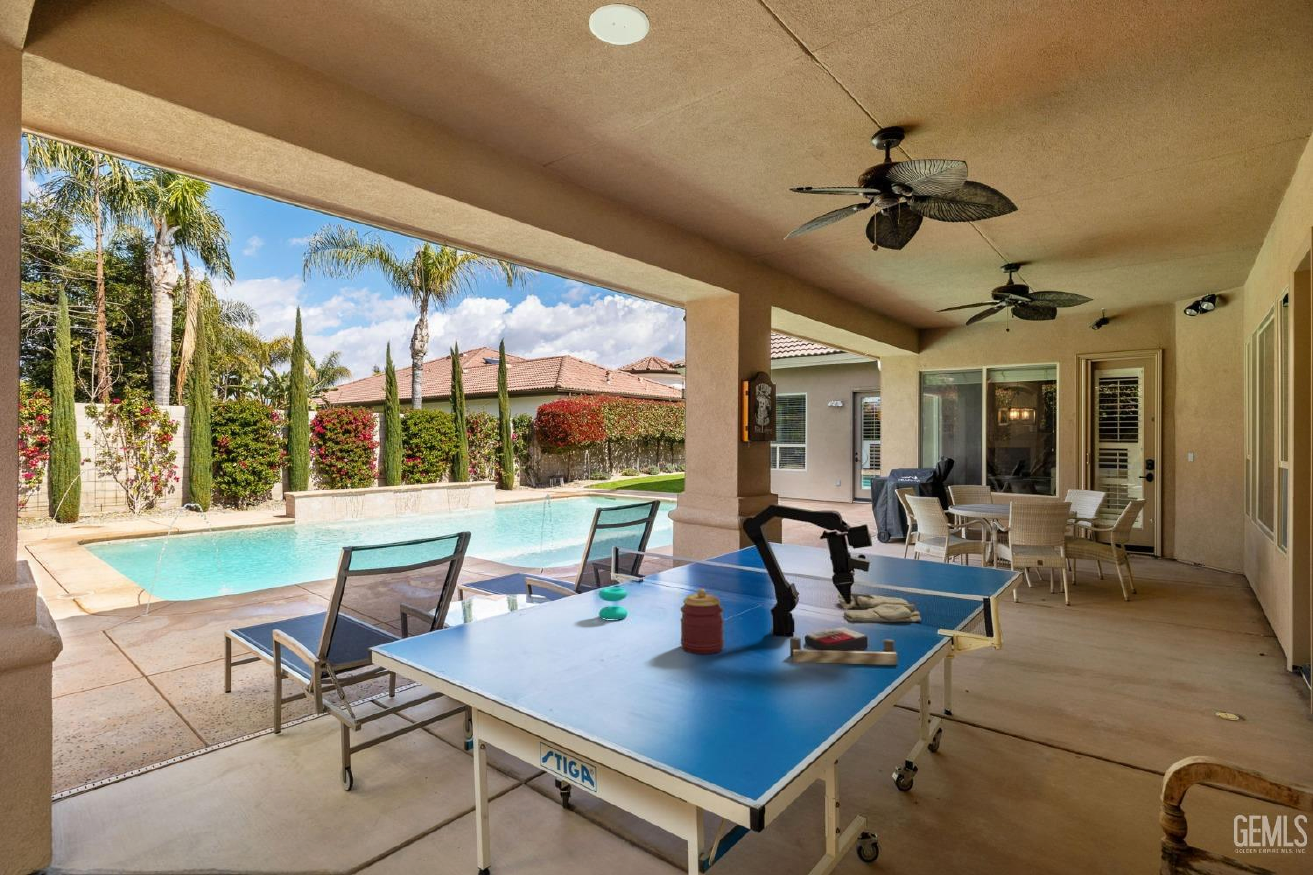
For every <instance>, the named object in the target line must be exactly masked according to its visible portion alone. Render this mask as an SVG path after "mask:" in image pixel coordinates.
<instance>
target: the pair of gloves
mask: <svg viewBox="0 0 1313 875" xmlns="http://www.w3.org/2000/svg"><path fill="white" fill-rule="evenodd" d="M837 597H838V599H839V600H838V601H839V603H840V604H841V607H842V608H843V609H844V610H845V611H843V617H844V618H845V619H847V621H850V622H858V623H859V622H862V623H865V622H867V623H869V622H872V623H873V622H874V623H879V622H881V623H883V622H885V623H896V622H899V623H902V622H903V623H905V622H906V623H909V622H912V623H916V622H921V621H922V618H921V616H920V615H921V614H920V612H919V610H916V606H915V605H914V604H913V603H912V604H909V603H908V601H907V600H906V599H904V598H900V597H890V596H889V597H888V596H883V595H876V594H875V595H874V594H862V593H860V594H859V593H851V604H847V603H846V602H845V600H844V599H843V597H842V596H841V594H840V593H839V592H838V596H837ZM855 607H856V608H855ZM852 608H855V609H854V610H853V609H852ZM861 608H865V609H861ZM869 608H872V609H869ZM846 609H847V610H846ZM850 609H852V610H850ZM860 609H861V610H860Z"/></svg>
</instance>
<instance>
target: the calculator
mask: <svg viewBox="0 0 1313 875" xmlns="http://www.w3.org/2000/svg"><path fill="white" fill-rule="evenodd" d="M804 643H805V644H804V645H805V646H807V647H809V648H812V649H813V650H829V651H855V650H856V649H858V650H862V649H861V648H864V649H868V648H867V647H868V646H869V644H868V643H869V642H868V636H867V635H865V634H862V633H860V632H857V631H855V630H852V629H850V628H848V627H845V626H843V627H838V628H830V629H825V630H821V631H815V632H811V633H807V634H806V635H804Z"/></svg>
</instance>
